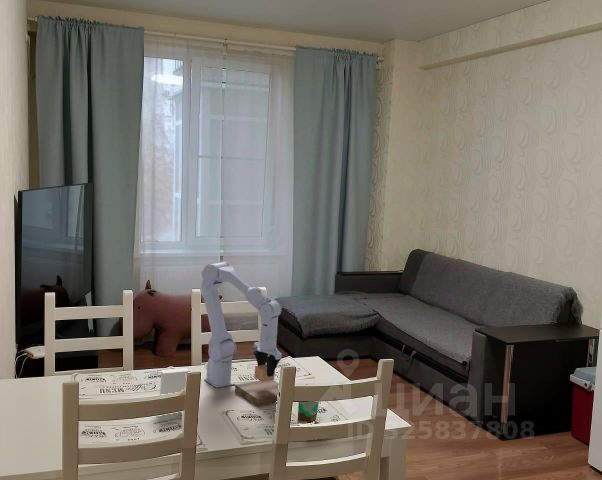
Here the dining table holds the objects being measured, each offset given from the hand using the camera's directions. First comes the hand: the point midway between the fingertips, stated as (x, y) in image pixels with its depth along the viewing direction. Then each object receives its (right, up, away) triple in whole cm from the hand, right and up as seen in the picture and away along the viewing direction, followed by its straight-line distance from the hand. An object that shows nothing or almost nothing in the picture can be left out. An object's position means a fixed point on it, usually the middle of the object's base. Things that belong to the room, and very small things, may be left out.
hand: (265, 373), depth 213 cm
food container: (+15, -12, -18) cm, 26 cm away
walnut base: (-1, -8, +1) cm, 8 cm away
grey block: (-29, -8, -14) cm, 33 cm away
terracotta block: (-1, -2, 0) cm, 2 cm away
